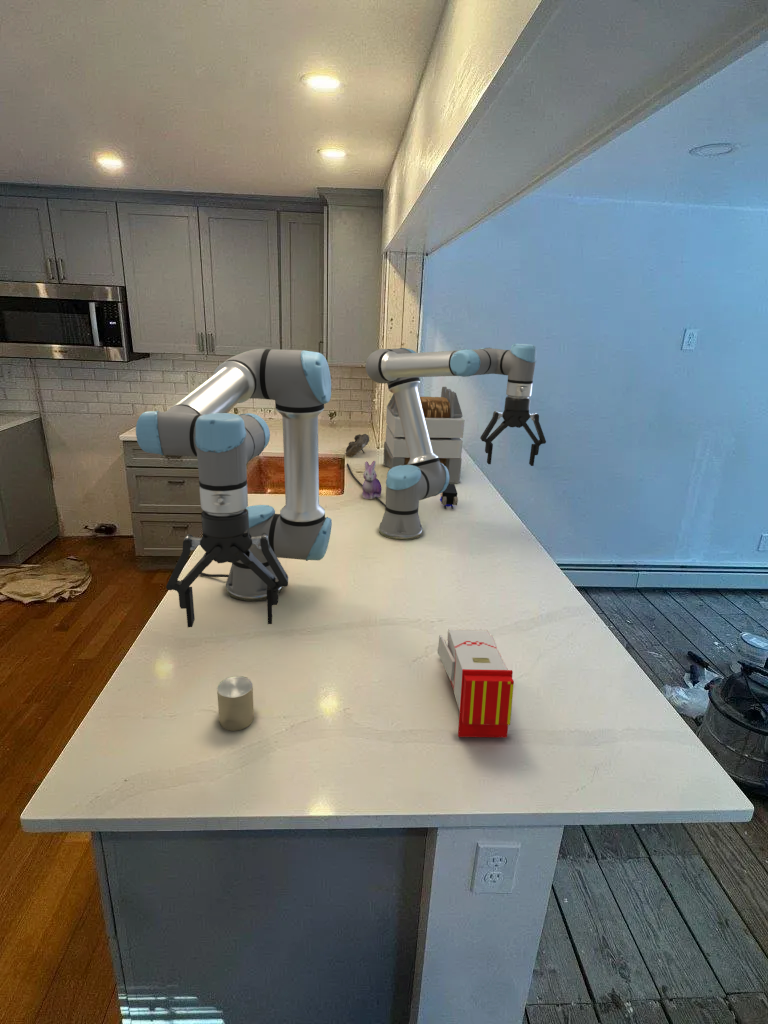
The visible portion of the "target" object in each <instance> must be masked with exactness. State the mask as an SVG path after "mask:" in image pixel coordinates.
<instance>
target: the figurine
mask: <svg viewBox="0 0 768 1024" xmlns="http://www.w3.org/2000/svg"><path fill="white" fill-rule="evenodd" d="M376 465H377V461H376V460H373V461H372V462H371V464H369V462H368V461H367V460H366V461H365V462H364V469H365V470H364V472H363V475H362V476H363V479H364V481H363V483H362V485H363V487H362V493H361V496H362V499H365V500H374V499H376V498H375V497H377V498H380V497H381V495H382V490H383V489H382V488H383V487H382V484H381V481H380V480H379V479H378V478H377V475H378V474H377V472H376V470H375V468H376Z"/></svg>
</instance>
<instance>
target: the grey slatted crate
mask: <svg viewBox="0 0 768 1024" xmlns="http://www.w3.org/2000/svg"><path fill="white" fill-rule="evenodd" d="M440 393H441V394H440V396H419V397H420V401H421V405H422V410H423V414H424V418H425V422H426V426H427V430H428V434H429V438H430V442H431V447H432V451H433V453H434V454H435V455H437V456H438V457H439V461H440V463H442V464H444V466H446V468H447V469H448V472H449V484H455V483H456V484H459V483H461V472H462V461H463V460H462V453H463V442H464V441H463V440H462V439H463V438H464V431H465V430H464V429H465V419H464V418H463V411H462V408H461V405H460V402H459V398H458V395H457V392H455V391H453V390H452V389H451V388H447V386H442V387H441V392H440ZM385 414H386V415H385V423H386V428H385V438H384V442H383V466H384V467H388V468H389V470H390V469H391V468H393V467H395V466H399V465H402V466H403V465H407V464H408V462H409V460H410V456H409V452H408V448H407V444H406V440H405V436H404V432H403V428H402V424H401V420H400V416H399V412H398V408H397V404H396V400H395V396H394V394H393V393H392V395H391V398H390V400H389V402H388V404H387V405H386V413H385Z"/></svg>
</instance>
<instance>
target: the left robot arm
mask: <svg viewBox="0 0 768 1024" xmlns="http://www.w3.org/2000/svg"><path fill="white" fill-rule="evenodd" d="M327 360H328V359H326V356H325V355H324V354H323V353H321V352H318V351H311V350H309V351H308V350H306V349H305V350H304V349H277V348H274V349H271V348H254V349H251V350H247V351H244V352H241V353H238V354H236V355H233V356H232V357H230V358H228V359H226V360H224V361H223V362H221V363H220V364H219V365H217V367H216V368H215V370H214V372H213V375H212V376H210V377H209V378H208V379H206V381H204V382H203V383H201V384H200V385H199V386H197V387H196V388H195V389H194V390H193V391H191V392H189V393H188V394H187V395H186V396H184V397H183V398H182V399H181V400H179V401H178V402H177V403H175V404H174V405H172V406H171V407H170V408H169V409H167V410H165V411H160V410H155V411H153V410H152V411H149V410H148V411H144V412H142V413H141V414H140V415H139V417H138V419H137V420H136V423H135V437H136V442H137V444H138V447H139V448H140V449H141V450H142V451H143V452H144V453H148V454H155V455H161V456H176V457H177V456H178V457H179V456H180V457H194V458H195V457H196V459H197V460H196V461H197V469H198V471H197V472H198V485H199V502H200V508H201V510H202V511H201V513H200V517H201V531H202V536H201V537H197V536H193V535H192V534H191V533H188V534H186V535H185V536H184V538H183V541H182V552H181V554H180V556H179V558H178V560H177V562H176V564H175V566H174V569H173V571H172V572H171V575H170V577H169V579H168V580H167V583H166V585H165V587H166V590H167V591H175V592H177V593H178V603H179V608H180V609H182V610H184V609H185V611H186V623H187V628H193V626H194V624H195V620H196V618H195V617H196V616H195V605H194V595H193V594H194V593H193V586H191V585H192V584H193V583H194V582H195V581H196V579H197V578H198V577H199V576H203V577H207V578H227V580H226V584H225V585H226V586H225V587H226V593H227V595H229V596H230V597H231V598H232V599H236V600H238V601H245V602H246V601H247V602H258V601H264V600H266V613H267V615H266V616H267V617H266V618H267V625H272V624H273V606H278V604H279V594H280V593H281V592H282V590H283V588H284V587H285V588H286V587H288V586H289V575H288V574H287V571H286V570H285V569H284V567H283V565H282V564H281V561H280V560H279V559H278V558H280V559H288V560H289V559H291V560H301V561H302V560H303V561H307V562H308V561H320V560H323V558H325V555H326V553H327V550H328V547H329V543H330V538H331V533H332V527H333V521H332V518H330V517H328V516H326V509H325V508H324V507H323V506H322V505H321V504H320V476H319V475H320V473H319V472H320V471H319V467H320V465H319V464H320V463H319V415H320V414H321V413H322V412H323V411H325V405H326V404H328V403H329V402H330V401H331V399H332V398H331V397H332V377H331V369H330V367H329V363H328V361H327ZM251 399H252V400H253V399H259V400H269V401H274V403H275V410H276V411H277V412H278V413H279V414H280V415H281V418H282V421H281V422H282V442H283V444H282V445H283V446H282V447H283V469H284V494H285V505H284V506H283V507H282V508H281V509H280V512H279V513H276V509H275V508H274V507H273V506H271V505H269V504H255V505H254V504H253V505H249V495H248V493H249V492H248V476H247V475H248V472H247V470H248V469H247V463H249V462H250V461H251V460H253V459H254V458H255V457H257V456H259V455H261V454H262V453H263V451H264V450H265V448H266V447H267V446H268V444H269V442H270V438H271V432H270V428H269V425H268V424H267V422H266V420H264V418H262V417H261V416H260V415H257V414H255V413H251V412H247V413H240V414H235V413H232V412H231V413H229V412H230V411H231V410H232V409H233V408H235V406H236V405H237V404H242V403H245V402H247V401H248V400H251ZM198 546H200V547H201V549H202V550H203V551H204V552H205V553H204V554H203V555H202V557H201V558H200V559H199V560H198V562H197V563H195V565H194V566H193V567H192V568H191V570H190V571H189V572H188V573H187V574H186V575H185V576H184V577H183V579H181V580H179V577H181V574H182V571H183V569H184V567H185V565H186V563H187V561H188V559H189V557H190V554H191V552H192V551H195V550H196V549H197V547H198ZM213 561H214V562H216V563H217V564H225V563H230V564H231V566H230V570H229V573H228V574H224V573H223V574H222V573H213V574H212V573H205V572H204V570H205V569H206V568H208V567H209V565H210V564H211V563H212V562H213Z"/></svg>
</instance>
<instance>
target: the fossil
mask: <svg viewBox="0 0 768 1024" xmlns="http://www.w3.org/2000/svg"><path fill="white" fill-rule="evenodd" d="M369 443H370V436H369V434H367V433H363V434H361V433H360V434H356V435H355V436H354V441H349V442H348V445H347V447H346V449H345V455H346V457H348V458H351V457H354V456H356V455H357V454H359V453H361V452H362V454H365V451H364V448H365V447H366V446H368V444H369Z"/></svg>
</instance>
